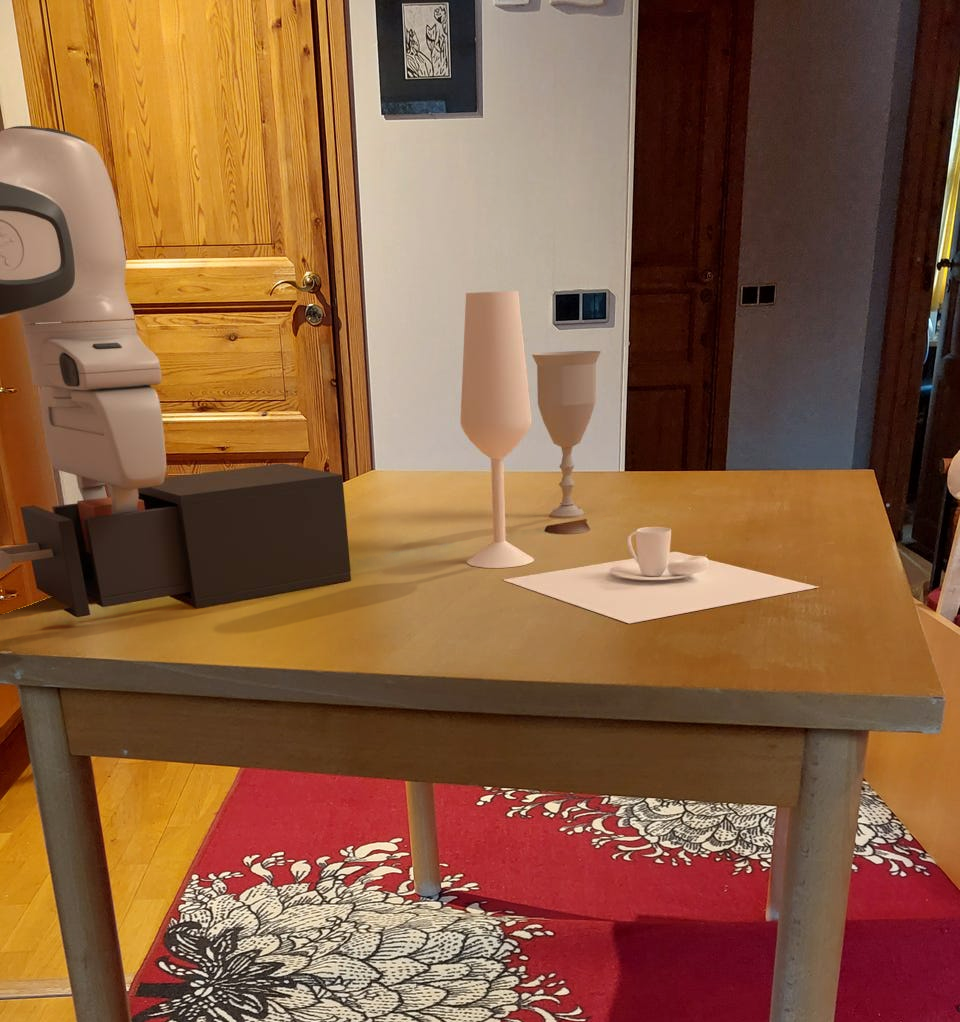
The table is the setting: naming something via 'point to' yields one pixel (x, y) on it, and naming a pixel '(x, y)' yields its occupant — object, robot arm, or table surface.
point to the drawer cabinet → (258, 531)
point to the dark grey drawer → (103, 554)
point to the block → (97, 511)
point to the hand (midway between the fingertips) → (114, 532)
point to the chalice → (566, 418)
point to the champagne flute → (495, 402)
